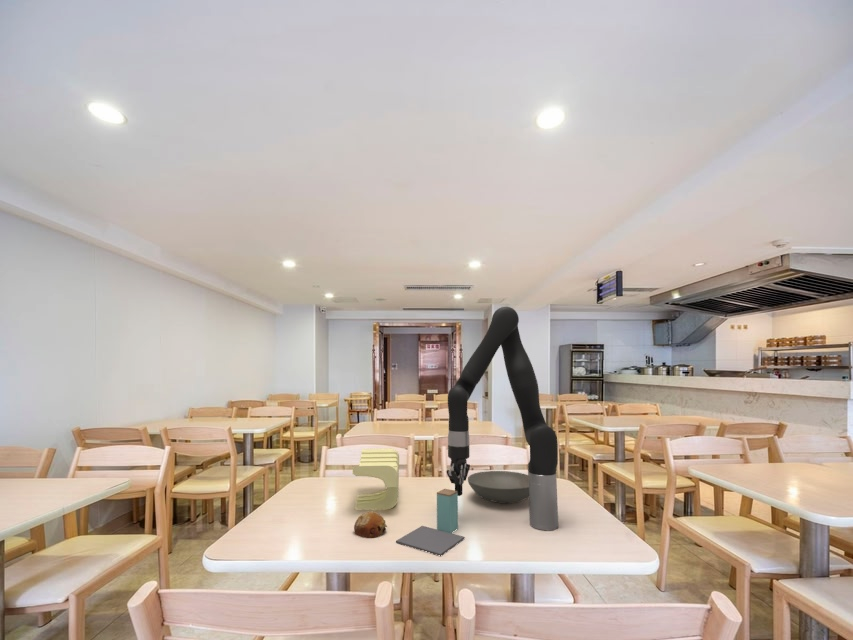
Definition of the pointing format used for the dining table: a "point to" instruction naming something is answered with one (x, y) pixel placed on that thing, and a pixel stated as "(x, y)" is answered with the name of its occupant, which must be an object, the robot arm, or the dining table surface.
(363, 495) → the slatted curved stool
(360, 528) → the bread roll
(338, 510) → the dining table surface
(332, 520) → the dining table surface
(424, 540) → the mat
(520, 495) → the bowl
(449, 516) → the teal block
